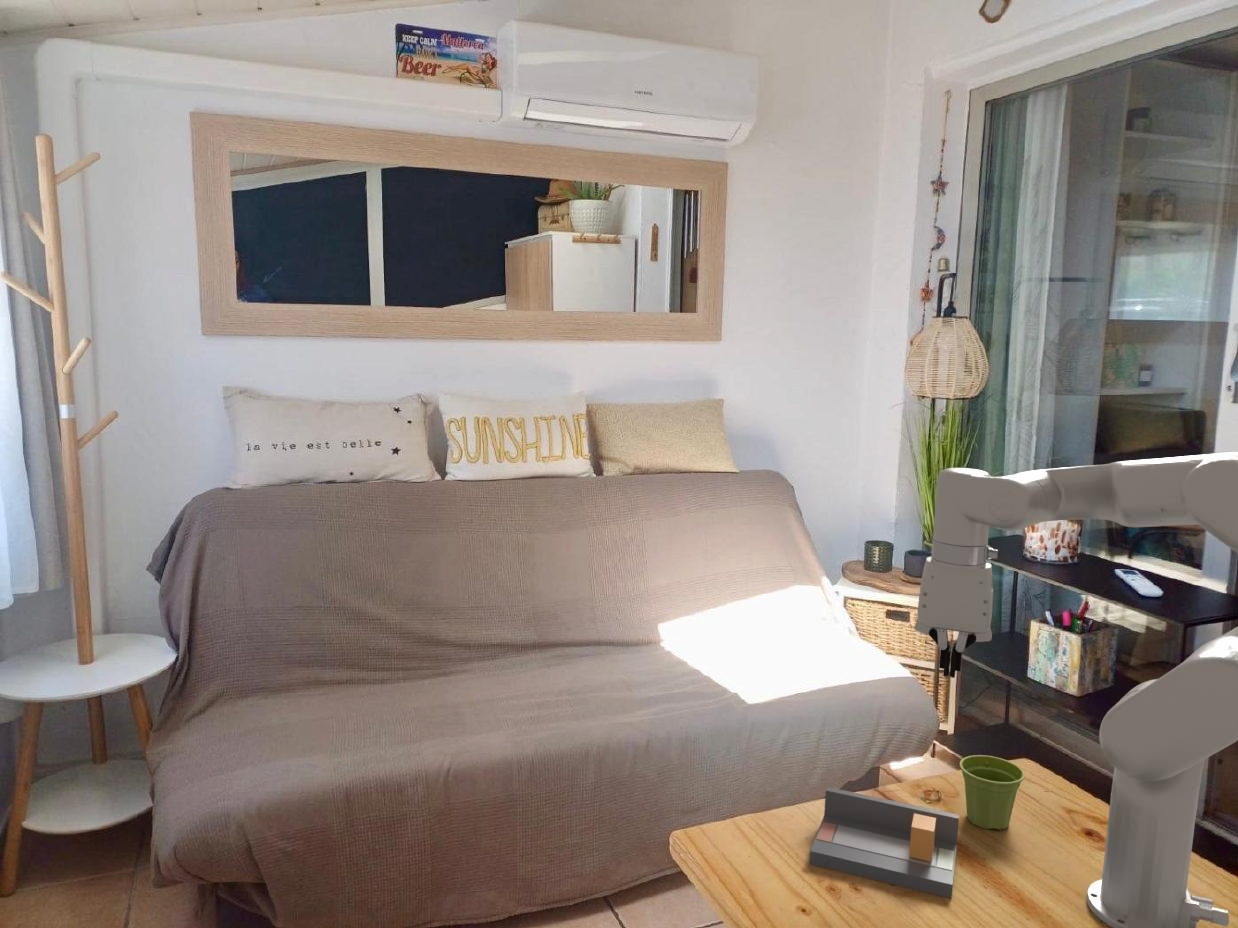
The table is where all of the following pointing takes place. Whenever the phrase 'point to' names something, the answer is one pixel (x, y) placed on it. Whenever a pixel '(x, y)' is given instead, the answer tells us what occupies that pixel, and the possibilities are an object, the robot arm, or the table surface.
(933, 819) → the handle
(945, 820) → the switch panel
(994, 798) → the plant pot
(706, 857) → the table surface
